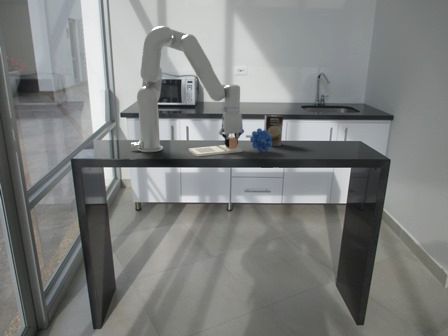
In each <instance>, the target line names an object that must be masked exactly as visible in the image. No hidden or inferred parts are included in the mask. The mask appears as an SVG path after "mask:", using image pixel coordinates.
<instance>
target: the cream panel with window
mask: <svg viewBox="0 0 448 336" xmlns="http://www.w3.org/2000/svg"><path fill="white" fill-rule="evenodd" d="M188 152H189V153H192V154H193V155H194V156H196V157H207V156H217V155H225V154H226V155H227V154H229V153H228V151H226V150H225V149H223V148H221V147H219V145H212V146H204V147H203V146H201V147H192V148H191V147H190V148H188Z"/></svg>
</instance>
